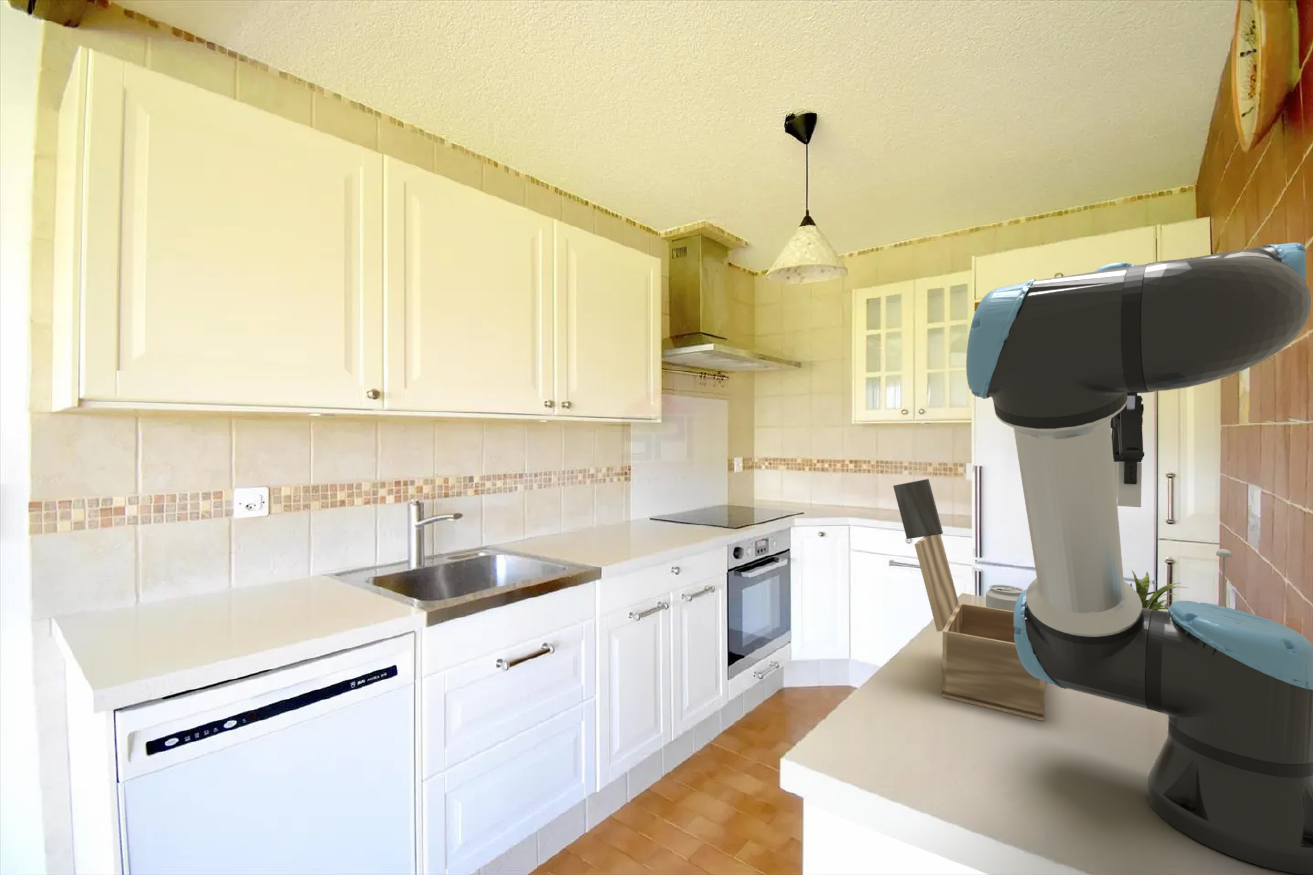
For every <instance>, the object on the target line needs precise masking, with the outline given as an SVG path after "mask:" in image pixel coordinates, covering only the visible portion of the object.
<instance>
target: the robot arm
mask: <svg viewBox="0 0 1313 875" xmlns="http://www.w3.org/2000/svg"><path fill="white" fill-rule="evenodd" d="M1306 250H1307V248H1306V246H1305V245H1303V244H1302V243H1300V242H1288V243H1287V242H1286V243H1281V244H1278V243H1277V244H1266V245H1262V246H1258V247H1251V248H1246V249H1239V250H1232V251H1225V252H1220V253H1214V254H1207V255H1201V256H1195V257H1189V258H1187V257H1186V258H1179V259H1170V260H1169V259H1168V260H1160V261H1153V262H1148V263H1144V264H1134V263H1128V262H1127V263H1126V262H1111V263H1107V264H1105V265H1103V266H1101V267H1098V268H1097V269H1095V270H1094V271H1092V272H1084V273H1079V274H1071V275H1063V276H1057V277H1051V278H1043V279H1037V280H1036V278H1032V279H1029V280H1028V281H1025V282H1022V283H1021V282H1020V283H1016V284H1012V285H1006V286H1005V285H1004V286H1001V287H998V288H994V289H993V290H991V291H989V292H987V293H986V294H985V295H984V297H982V298H981V300H980V301H979V304H978V306H977V307H976V309H975V311H974V315H973V317H972V321H971V324H970V325H971V326H970V330H969V334H968V339H967V347H966V361H965V364H966V368H965V369H966V380H967V385H968V388H969V390H970V391H971V394H972V395H973V396H975V397H977V398H981V399H983V400H986V399H989V398H992V401H993V408H994V412H995V416H996V418H997V419H998V420H999V421H1000V422H1001V423H1002V424H1004V425H1006V426H1008V427H1010V428H1013V432H1014V439H1015V445H1016V451H1017V452H1016V453H1017V459H1018V466H1019V471H1020V478H1021V484H1022V485H1021V486H1022V490H1023V491H1022V492H1023V497H1024V503H1025V510H1026V515H1027V523H1028V530H1029V536H1030V542H1031V549H1032V555H1033V561H1034V563H1033V564H1034V568H1035V574H1036V578H1035V579H1034V580H1033V581H1031V582H1030V584H1029V585H1028V587H1027V589H1025V590H1024V589H1023V590H1024V591H1023V592H1022V593H1021V594H1020V595H1019V597H1018V599H1017V602H1016V605H1015V610H1014V627H1015V634H1014V640H1015V646H1016V650H1017V653H1018V656H1019V659H1020V661H1021V663H1022V665H1023V667H1024V668H1025V670H1026V671H1027V672H1028V673H1029V674H1030V675H1032V676H1033V677H1035V678H1037V679H1039V680H1042V681H1045V682H1046V683H1049V684H1052V685H1054V686H1056V687H1058V688H1060V689H1064V690H1066V689H1067V690H1072V691H1076V692H1080V693H1082V694H1083V693H1084V694H1087V695H1091V696H1095V697H1099V698H1102V699H1107V700H1110V701H1115V702H1118V703H1122V704H1126V705H1131V706H1134V707H1137V708H1142V709H1145V710H1146V709H1147V710H1149V711H1154V712H1157V713H1159V714H1160V713H1161V714H1164V715H1166V716H1167V717H1168V718H1167V719H1168V720H1167V722H1168V724H1167V737H1166V738H1165V741H1164V744H1163V746H1162V747H1161V750H1160V751H1159V754H1158V756H1157V757H1156V759H1155V762H1154V763H1153V766H1152V767H1151V769H1150V772H1149V774H1148V776H1147V789H1146V790H1147V801H1148V803H1149V805H1150V807H1151V808H1152V809H1153V810H1154V811H1155V813H1156V814H1158V815H1159V817H1161V818H1162V819H1163V820H1164V821H1166V823H1168V824H1169V825H1171V827H1174V828H1175V829H1176V830H1177V831H1179V832H1181V833H1183V834H1184V835H1186V836H1187V837H1190V838H1192V839H1194V840H1195V841H1197V842H1199V843H1200V844H1203V845H1205V846H1207V847H1209V848H1212V849H1213V850H1216V851H1218V852H1220V853H1222V854H1226V855H1228V856H1231V857H1232V858H1235V859H1239V860H1241V861H1244V862H1248V863H1250V864H1254V865H1255V866H1260V867H1263V868H1267V869H1271V870H1275V871H1276V870H1277V871H1281V872H1286V873H1292V874H1298V875H1311V874H1313V643H1312V642H1311V640H1309V639H1308V638H1307V637H1306V636H1304V635H1303V634H1301V633H1300V632H1298V631H1297V630H1295V629H1293V628H1290V627H1288V626H1286V625H1285V624H1281V623H1279V622H1277V621H1274V620H1271V619H1269V618H1265V617H1262V616H1259V615H1256V614H1254V613H1253V614H1252V613H1249V612H1246V611H1243V610H1239V609H1235V608H1231V607H1227V606H1224V607H1223V606H1222V605H1219V604H1213V603H1207V602H1197V601H1193V600H1176V601H1174V602H1172V603H1171V604H1170V606H1168V607H1167V608H1168V609H1167V611H1163V610H1153V609H1148V608H1142V602H1141V599H1140V597H1139V595H1138V593H1137V592H1136V589H1134V587H1133V585H1132V586H1130V583H1128V582H1126V581H1124V569H1123V559H1122V558H1123V557H1122V547H1121V546H1122V545H1121V535H1120V534H1121V533H1120V526H1119V523H1120V522H1119V512H1118V511H1119V509H1118V507H1127V508H1128V507H1131V508H1142V481H1143V480H1142V476H1143V475H1142V474H1143V473H1142V472H1143V470H1142V469H1143V468H1142V467H1143V463H1142V461H1143V459H1144V456H1145V452H1144V437H1143V423H1144V419H1143V415H1144V412H1145V411H1144V410H1145V408H1144V407H1145V406H1144V404H1143V403H1142V402H1143V399H1144V398H1143V397H1142V395H1138V394H1145V393H1146V394H1147V393H1148V394H1149V393H1154V392H1159V391H1160V392H1161V391H1171V390H1172V391H1173V390H1178V389H1186V388H1190V387H1195V386H1200V385H1203V384H1208V383H1210V382H1213V381H1217V380H1221V379H1223V378H1227V377H1229V376H1232V375H1234V374H1237V373H1240V372H1243V371H1245V370H1247V369H1249V368H1251V367H1254V366H1255V365H1257V364H1259V363H1261V362H1263V361H1266V360H1268V359H1270V358H1271V357H1273V356H1274V355H1276V354H1277V353H1279V352H1281V351H1282V350H1284V349H1285V348H1286V347H1287V346H1289V345H1290V344H1291V343H1292V342H1293V341H1294V340H1295V339H1296V338H1297V337H1298V335H1299V334H1300V333H1301V331H1302V330H1303V329H1304V328H1305V325H1307V322H1308V319H1309V316H1310V315H1311V308H1312V307H1311V306H1312V296H1311V293H1310V289H1309V287H1308V286H1309V285H1307V283H1306V279H1307V278H1306V277H1307V252H1306ZM1132 587H1133V588H1132Z"/></svg>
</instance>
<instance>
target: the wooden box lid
mask: <svg viewBox="0 0 1313 875" xmlns="http://www.w3.org/2000/svg"><path fill="white" fill-rule="evenodd" d="M892 487H893V490H894V494H895V499H896V504H897V506H898V510H899V514H900V518H901V521H902V525H903V529H904V533H905V538H906V539H907V540H909V539H916V538H920V540H918V541H916V542H915V543H914V548H915V551H916V556H917V560H918V562H919V567H920V572H921V574H922V578H923V583H924V586H925V590H926V594H927V599H928V602H929V605H930V606H929V607H930V610H931V613H932V617H933V622H934V625H935V629H936V632H943V630H944V628H945V627H946V625H947V623H948V622H949V620H950V618H951V616H952V615H953V613H954V611H955V610H956V608H957V606H958V604H959V603H960V602H959V599H958V595H957V590H956V587H955V583H954V580H953V576H952V573H951V568H950V565H949V564H950V563H949V561H948V558H947V554H946V553H947V552H946V549H945V546H944V542H943V538H942V536H941V535H942V534H944V532H943V527H942V523H941V520H940V517H939V513H938V512H939V511H938V509H937V505H936V500H935V497H934V493H933V490H932V486H931V482H930V479H929V478H926V479H921V480H915V481H910V482H905V483H904V482H903V483H900V484H894V485H893V486H892Z"/></svg>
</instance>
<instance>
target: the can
mask: <svg viewBox="0 0 1313 875" xmlns="http://www.w3.org/2000/svg"><path fill="white" fill-rule="evenodd" d="M988 588H989V589H988V590H987V591H986V592H985V607H988V608H995V609H1001V610H1008V611H1014V610H1015V605H1016V602H1017V599H1018V597H1019V595H1020V594H1021V593H1022V592H1023V591H1024V589H1023V588H1021V587H1018V586H1014V585H1007V584H991V585H989V587H988Z"/></svg>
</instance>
